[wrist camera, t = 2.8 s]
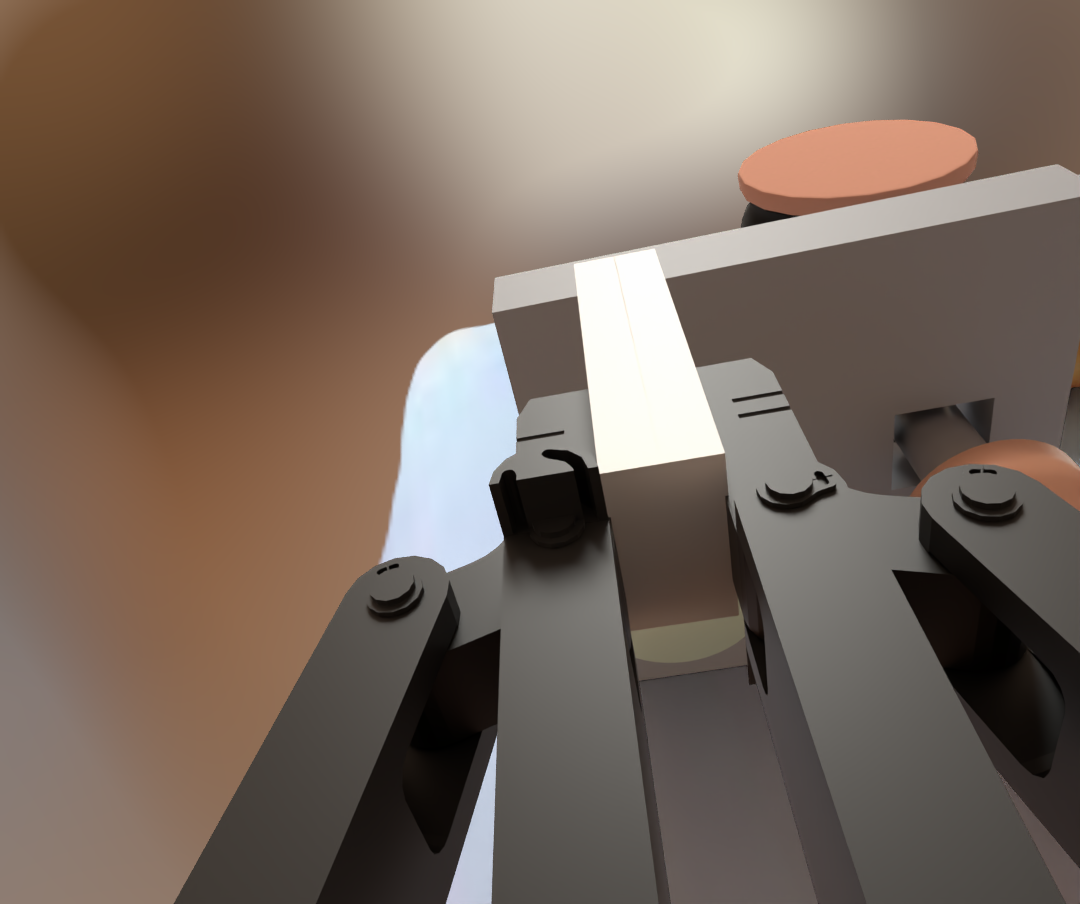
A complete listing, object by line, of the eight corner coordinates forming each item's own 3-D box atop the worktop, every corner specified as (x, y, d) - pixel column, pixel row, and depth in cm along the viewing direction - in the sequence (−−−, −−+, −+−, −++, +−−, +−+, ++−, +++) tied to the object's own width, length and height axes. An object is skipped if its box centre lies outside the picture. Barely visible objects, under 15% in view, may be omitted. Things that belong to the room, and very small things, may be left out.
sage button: (590, 523, 37) (565, 411, 34) (724, 500, 36) (713, 384, 33) (604, 673, 30) (575, 552, 27) (771, 649, 29) (763, 521, 26)
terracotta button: (841, 480, 36) (841, 361, 32) (984, 456, 35) (1000, 332, 32) (917, 627, 29) (927, 494, 25) (1098, 601, 28) (1133, 460, 25)
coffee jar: (892, 392, 54) (905, 105, 44) (989, 487, 45) (1032, 155, 35) (733, 432, 54) (709, 154, 44) (798, 536, 45) (786, 217, 35)
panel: (587, 640, 42) (494, 277, 31) (996, 577, 40) (1057, 164, 29) (590, 687, 40) (492, 312, 28) (1026, 624, 37) (1107, 191, 26)
